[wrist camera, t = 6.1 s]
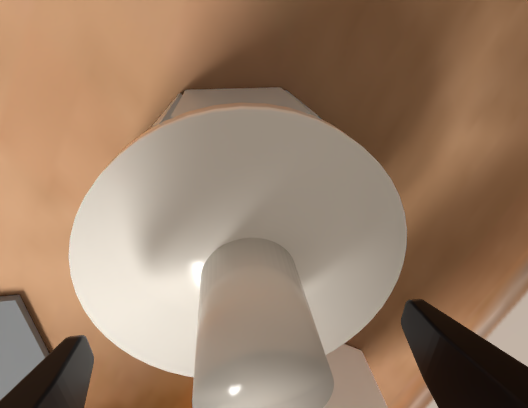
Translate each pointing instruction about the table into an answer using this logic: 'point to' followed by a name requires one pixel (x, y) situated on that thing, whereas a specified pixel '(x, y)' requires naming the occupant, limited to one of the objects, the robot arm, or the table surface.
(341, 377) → the milk
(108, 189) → the lid
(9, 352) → the mat
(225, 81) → the table surface
